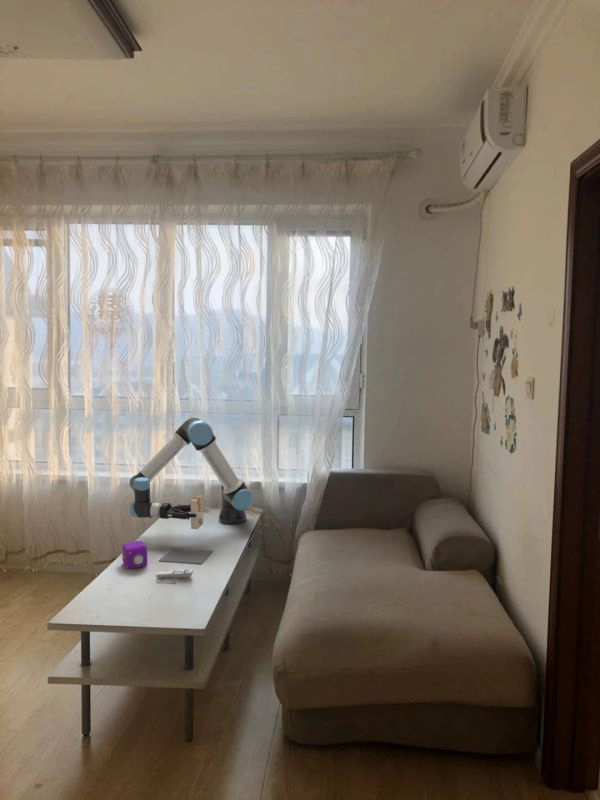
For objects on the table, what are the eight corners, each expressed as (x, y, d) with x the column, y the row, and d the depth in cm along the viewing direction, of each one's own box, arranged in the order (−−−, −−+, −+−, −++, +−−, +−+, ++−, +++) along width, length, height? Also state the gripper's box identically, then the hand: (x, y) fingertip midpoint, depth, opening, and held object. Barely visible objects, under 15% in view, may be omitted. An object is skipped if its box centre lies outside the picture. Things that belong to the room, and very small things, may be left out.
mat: (172, 548, 277) (172, 547, 277) (212, 551, 274) (212, 550, 274) (158, 561, 261) (158, 560, 261) (201, 564, 258) (201, 563, 258)
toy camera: (131, 573, 248) (130, 551, 247) (118, 564, 259) (117, 542, 258) (154, 567, 255) (153, 545, 254) (141, 558, 266) (140, 537, 264)
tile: (197, 523, 285) (196, 495, 284) (202, 523, 285) (202, 495, 283) (191, 528, 277) (190, 500, 276) (197, 529, 277) (196, 500, 275)
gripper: (170, 511, 294) (213, 513, 290) (152, 525, 274) (199, 527, 270) (169, 497, 293) (212, 498, 289) (152, 509, 273) (198, 511, 269)
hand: (206, 512), depth 280 cm, fingers closed on tile, 8 cm apart
